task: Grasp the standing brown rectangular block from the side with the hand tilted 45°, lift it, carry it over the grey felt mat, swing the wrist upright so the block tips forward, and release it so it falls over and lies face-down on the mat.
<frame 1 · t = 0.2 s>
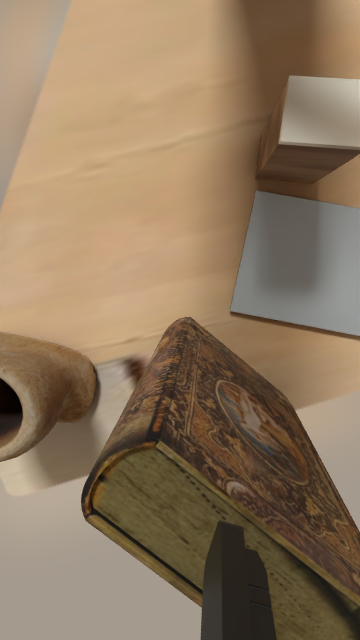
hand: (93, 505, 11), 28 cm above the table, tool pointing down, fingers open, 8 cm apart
felt mat: (310, 265, 35), on the table
brown rectangular block: (287, 160, 33), on the table
stone cup: (42, 365, 41), on the table
book: (220, 370, 39), on the table
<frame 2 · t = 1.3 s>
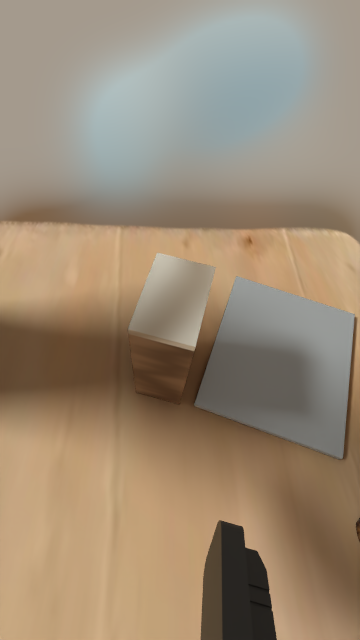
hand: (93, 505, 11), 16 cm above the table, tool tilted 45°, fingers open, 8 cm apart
felt mat: (280, 357, 32), on the table
brown rectangular block: (166, 367, 30), on the table
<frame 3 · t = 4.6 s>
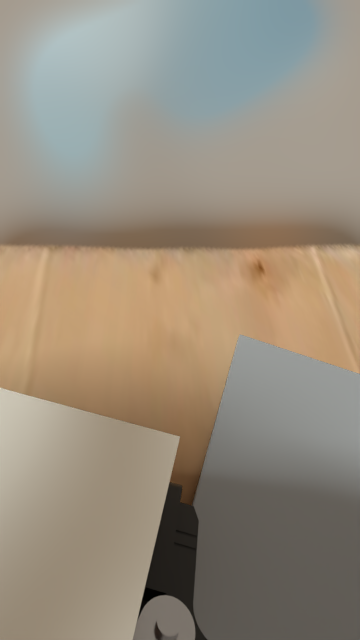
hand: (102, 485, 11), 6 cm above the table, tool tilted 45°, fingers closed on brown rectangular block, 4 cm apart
felt mat: (325, 501, 17), on the table
brown rectangular block: (104, 538, 15), on the table, touching gripper
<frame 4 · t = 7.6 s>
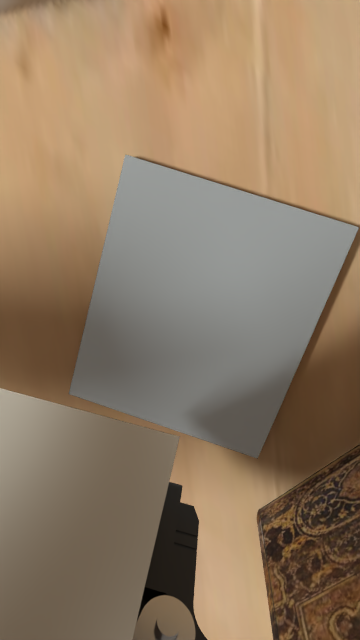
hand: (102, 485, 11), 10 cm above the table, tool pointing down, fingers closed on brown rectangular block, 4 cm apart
felt mat: (198, 317, 20), on the table
brown rectangular block: (104, 537, 15), point 7 cm above the table, tilted 45°, touching gripper
when the fingers open (6 cm above the table, at t = 8.5 s): brown rectangular block moves 2 cm and tips over, resting on felt mat.
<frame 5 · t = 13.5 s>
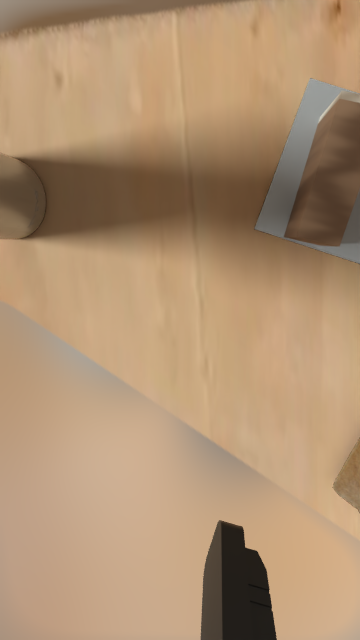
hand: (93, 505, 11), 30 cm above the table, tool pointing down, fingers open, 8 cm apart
felt mat: (338, 178, 34), on the table
brown rectangular block: (309, 241, 33), point 4 cm above the table, tilted 90°, touching felt mat
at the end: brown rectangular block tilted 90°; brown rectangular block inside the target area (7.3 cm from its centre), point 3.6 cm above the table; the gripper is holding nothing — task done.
